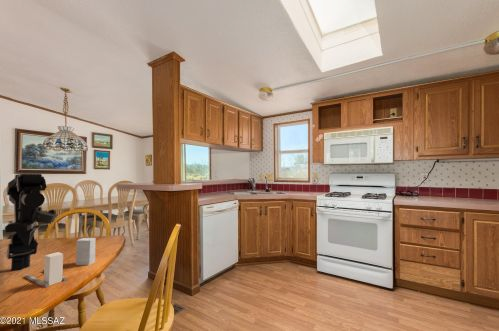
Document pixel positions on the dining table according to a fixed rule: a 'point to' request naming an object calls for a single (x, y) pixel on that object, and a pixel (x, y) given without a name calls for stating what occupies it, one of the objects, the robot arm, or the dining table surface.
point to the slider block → (53, 268)
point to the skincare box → (85, 251)
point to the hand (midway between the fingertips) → (27, 245)
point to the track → (40, 280)
